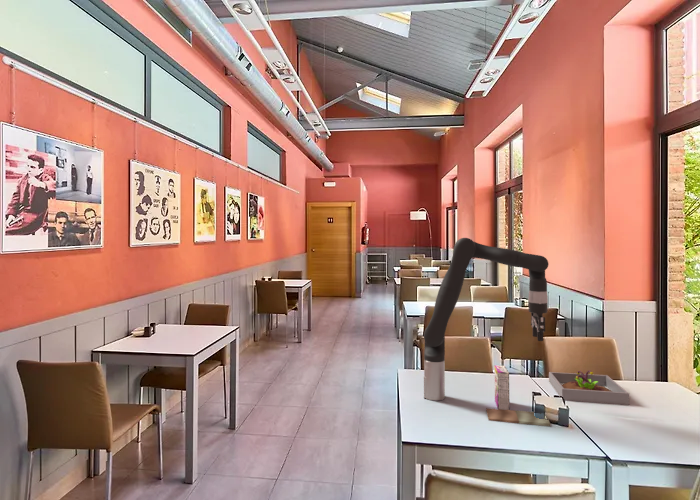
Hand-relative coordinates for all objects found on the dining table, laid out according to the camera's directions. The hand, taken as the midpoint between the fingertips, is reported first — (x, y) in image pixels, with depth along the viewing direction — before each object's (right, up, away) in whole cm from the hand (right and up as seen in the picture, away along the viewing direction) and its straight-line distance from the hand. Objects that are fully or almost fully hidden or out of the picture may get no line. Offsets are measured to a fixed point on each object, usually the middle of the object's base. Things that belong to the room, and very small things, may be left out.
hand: (537, 338), depth 183 cm
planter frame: (+31, -30, +19) cm, 47 cm away
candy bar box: (-15, -30, +2) cm, 34 cm away
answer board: (-13, -30, -11) cm, 35 cm away
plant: (+32, -30, +19) cm, 47 cm away
